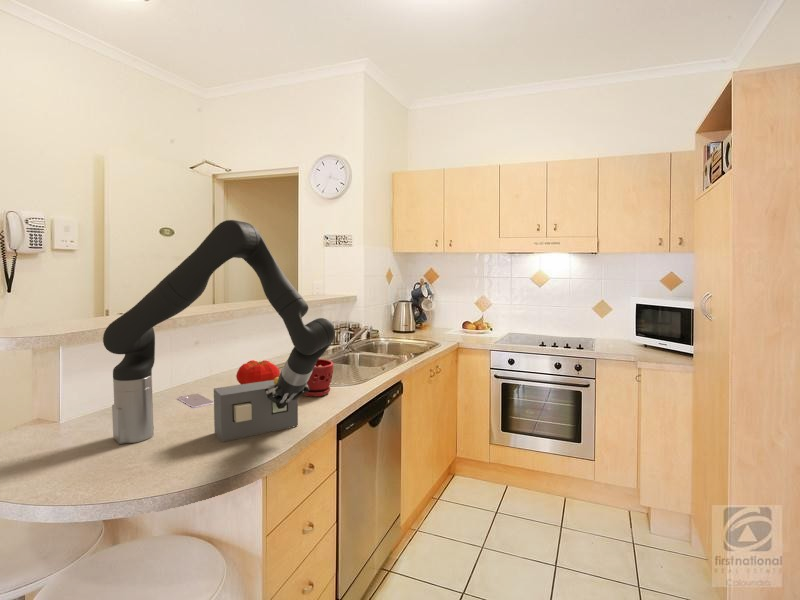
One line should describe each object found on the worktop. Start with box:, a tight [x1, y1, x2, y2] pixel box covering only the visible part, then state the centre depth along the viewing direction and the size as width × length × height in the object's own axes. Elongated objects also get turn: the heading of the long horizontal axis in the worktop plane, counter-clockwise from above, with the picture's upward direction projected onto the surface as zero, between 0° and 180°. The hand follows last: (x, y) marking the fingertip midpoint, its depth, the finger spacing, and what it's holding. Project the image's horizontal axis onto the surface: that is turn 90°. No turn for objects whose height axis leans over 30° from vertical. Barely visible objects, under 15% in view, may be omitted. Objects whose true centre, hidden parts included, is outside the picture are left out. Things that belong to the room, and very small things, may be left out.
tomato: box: [235, 359, 281, 385], centre depth 179 cm, size 14×16×10 cm
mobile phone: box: [177, 393, 214, 409], centre depth 161 cm, size 8×1×15 cm
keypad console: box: [213, 377, 299, 443], centre depth 134 cm, size 8×22×15 cm, turn 125°
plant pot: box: [302, 358, 334, 397], centre depth 171 cm, size 13×13×12 cm
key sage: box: [272, 402, 287, 413], centre depth 136 cm, size 4×4×4 cm
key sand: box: [232, 402, 252, 422], centre depth 128 cm, size 4×4×4 cm
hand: (279, 405), depth 134 cm, fingers closed
